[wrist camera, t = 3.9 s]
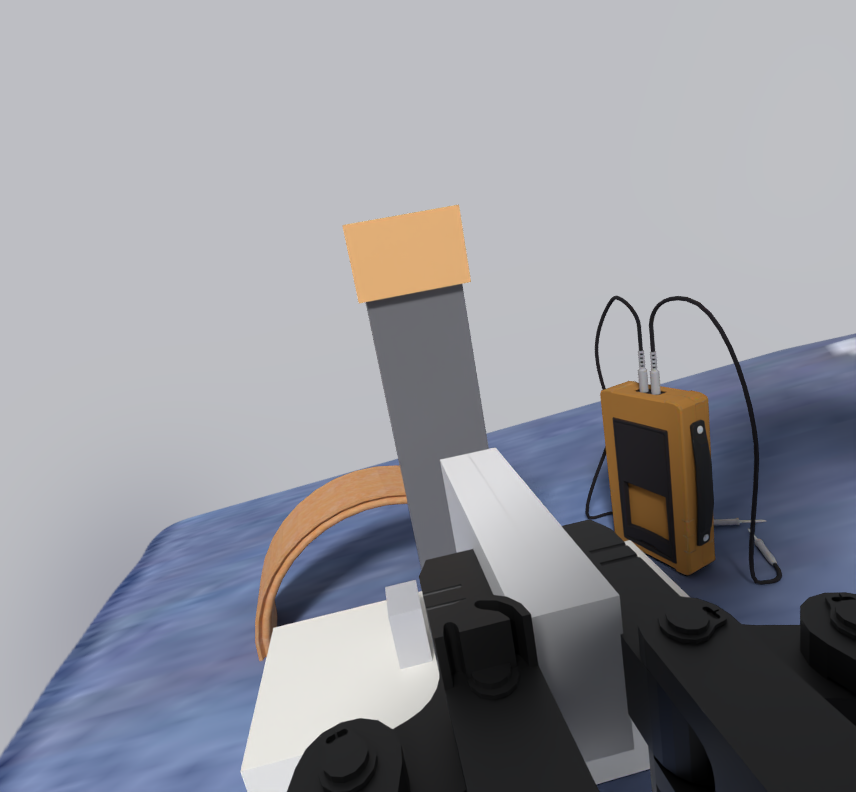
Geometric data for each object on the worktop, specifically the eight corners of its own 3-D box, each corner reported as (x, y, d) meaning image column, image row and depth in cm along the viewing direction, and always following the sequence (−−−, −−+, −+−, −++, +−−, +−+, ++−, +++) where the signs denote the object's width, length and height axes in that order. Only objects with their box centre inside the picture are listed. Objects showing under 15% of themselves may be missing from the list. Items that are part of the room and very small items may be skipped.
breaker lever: (507, 594, 28) (444, 214, 23) (526, 634, 25) (458, 204, 20) (425, 615, 28) (343, 232, 23) (433, 657, 25) (342, 225, 20)
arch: (521, 580, 40) (503, 461, 38) (259, 663, 36) (219, 537, 34) (495, 545, 46) (478, 439, 43) (265, 613, 42) (231, 502, 39)
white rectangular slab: (637, 622, 33) (626, 496, 31) (737, 743, 25) (730, 580, 23) (298, 711, 31) (260, 583, 29) (276, 877, 23) (220, 712, 21)
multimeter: (833, 549, 37) (837, 264, 32) (741, 608, 33) (730, 295, 28) (661, 486, 50) (646, 277, 45) (581, 523, 46) (555, 299, 41)
